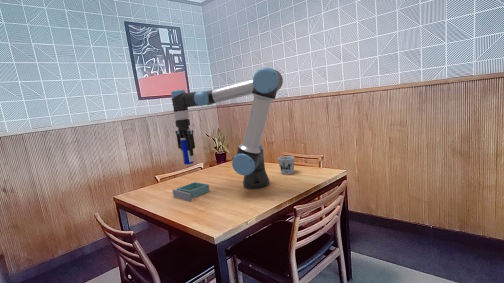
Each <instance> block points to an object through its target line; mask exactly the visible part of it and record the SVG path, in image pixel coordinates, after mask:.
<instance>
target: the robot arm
mask: <svg viewBox="0 0 504 283" xmlns="http://www.w3.org/2000/svg"><path fill="white" fill-rule="evenodd" d="M283 80H284V79H283V76H282V74H281V73H280V72H279V71H278V70H276V69H274V68H272V67H262V68H260V69H257V71H256V72H255V73H254V75H253V76H252V79H248V80H245V81H241V82H237V83H234V84H229V85H225V86H222V87H217V88H215V89H212V90H211V89H210V90H207V91H206V90H197V91H192V92H186V90H185V89H175V90H172V91H171V93H170V94H171V95H170V96H171V102H172V108H173V116H174V120H175V121H174V123H175V127H176V128H177V130H175V132H174V133H175V136H176V140H177V148H178V149H180V151H181V155H182V158H183V153H182V147H181V140H180V139H181V138H185V139H186V143H187V146H188V156H189V162H192V161H194V162H195V158H194V157H195V156H194V155H195V154H194V149H195V148H196V143H195V137H194V130H193V129H190V125H191V122H190V116H189V109H188V108H193V107H203V106H211V105H213V104H218V103H222V102H225V101H228V100H229V101H230V100H234V99H238V98H242V97H246V96H252V97H253V100H252V104H251V107H250V112H249V115H248V120H247V123H246V128H245V131H244V136H243V139H242V143H241V144H239V145H238V147H237V151H236V154H235V155H234V157H233V158H232V164H231V166H232V169H233V170H234V172H235V173H236V174H239V175H241V176H243V181H242V186H243V188H245V189H250V190H251V189H253V190H255V189H261V188H265V187H267V186H269V185H270V183H271V182H270V178H269V176H268V174H267V172H266V165H265V157H264V156H265V155H264V149H263V145H262V144H260V143H261V140H262V137H263V134H264V129H265V125H266V122H267V119H268V118H267V117H268V114H269V111H270V107H271V103H272V102H273V101H275V100H276V97H277V94H278V91H280V89H281V88H282V86H283V83H284V81H283ZM182 162H184V160H183V159H182Z"/></svg>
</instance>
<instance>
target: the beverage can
mask: <svg viewBox="0 0 504 283" xmlns="http://www.w3.org/2000/svg"><path fill="white" fill-rule="evenodd" d="M180 140H181V147H182V152H181V154H182V153H183V157H182V161H183V160H184V161H183V164H184V166H193V164H194V162H195V160H194V161H192V162H189V156H188V146H187V143H186V139H185V138H181V139H180Z"/></svg>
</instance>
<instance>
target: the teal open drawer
mask: <svg viewBox="0 0 504 283" xmlns="http://www.w3.org/2000/svg"><path fill="white" fill-rule="evenodd" d="M176 190H179V191H183V192H187V193H191V195H192V199H194V198H196V197H198V196H201V195H204V194H206V193H208V192H210V187H209V184H208V183H202V182H198V181H194V182H191V183H188V184H185V185H181V186H180V187H177V188H176Z"/></svg>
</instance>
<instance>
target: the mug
mask: <svg viewBox="0 0 504 283" xmlns="http://www.w3.org/2000/svg"><path fill="white" fill-rule="evenodd" d="M277 162H278V165H279V168H280V173H281V175H284V174H289V175H291V174H294V173H293V172H295V156H293V155H285V156H284V155H282V156H279V157H278V158H277Z"/></svg>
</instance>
